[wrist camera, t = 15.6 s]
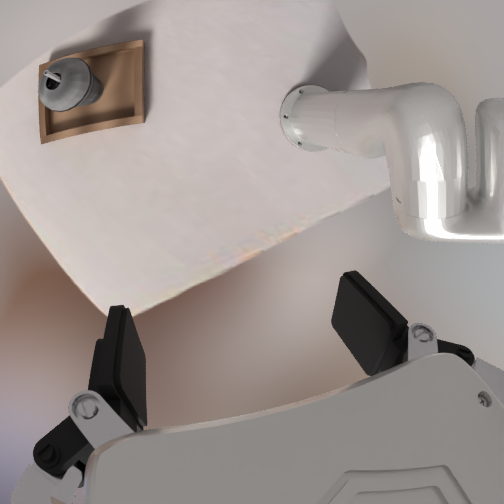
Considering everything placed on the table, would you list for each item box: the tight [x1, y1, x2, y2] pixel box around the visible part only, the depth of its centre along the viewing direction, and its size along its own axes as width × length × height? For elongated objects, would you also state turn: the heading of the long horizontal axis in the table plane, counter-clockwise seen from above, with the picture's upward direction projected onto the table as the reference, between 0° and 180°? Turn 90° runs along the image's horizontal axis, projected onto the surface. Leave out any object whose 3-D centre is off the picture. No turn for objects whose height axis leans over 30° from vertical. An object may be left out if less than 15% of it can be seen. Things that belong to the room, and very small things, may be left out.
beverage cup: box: [38, 57, 104, 112], centre depth 24 cm, size 7×7×20 cm
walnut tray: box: [39, 40, 145, 144], centre depth 32 cm, size 18×14×3 cm
